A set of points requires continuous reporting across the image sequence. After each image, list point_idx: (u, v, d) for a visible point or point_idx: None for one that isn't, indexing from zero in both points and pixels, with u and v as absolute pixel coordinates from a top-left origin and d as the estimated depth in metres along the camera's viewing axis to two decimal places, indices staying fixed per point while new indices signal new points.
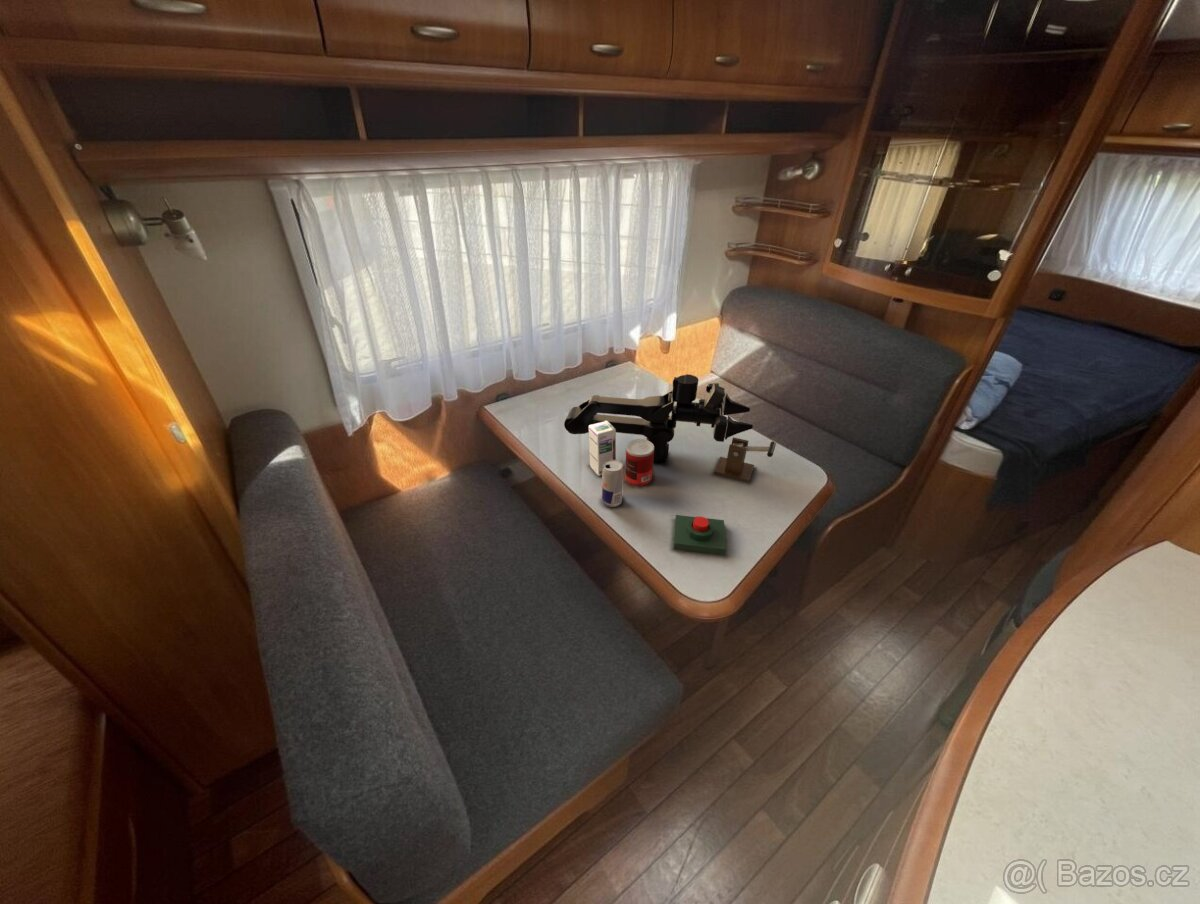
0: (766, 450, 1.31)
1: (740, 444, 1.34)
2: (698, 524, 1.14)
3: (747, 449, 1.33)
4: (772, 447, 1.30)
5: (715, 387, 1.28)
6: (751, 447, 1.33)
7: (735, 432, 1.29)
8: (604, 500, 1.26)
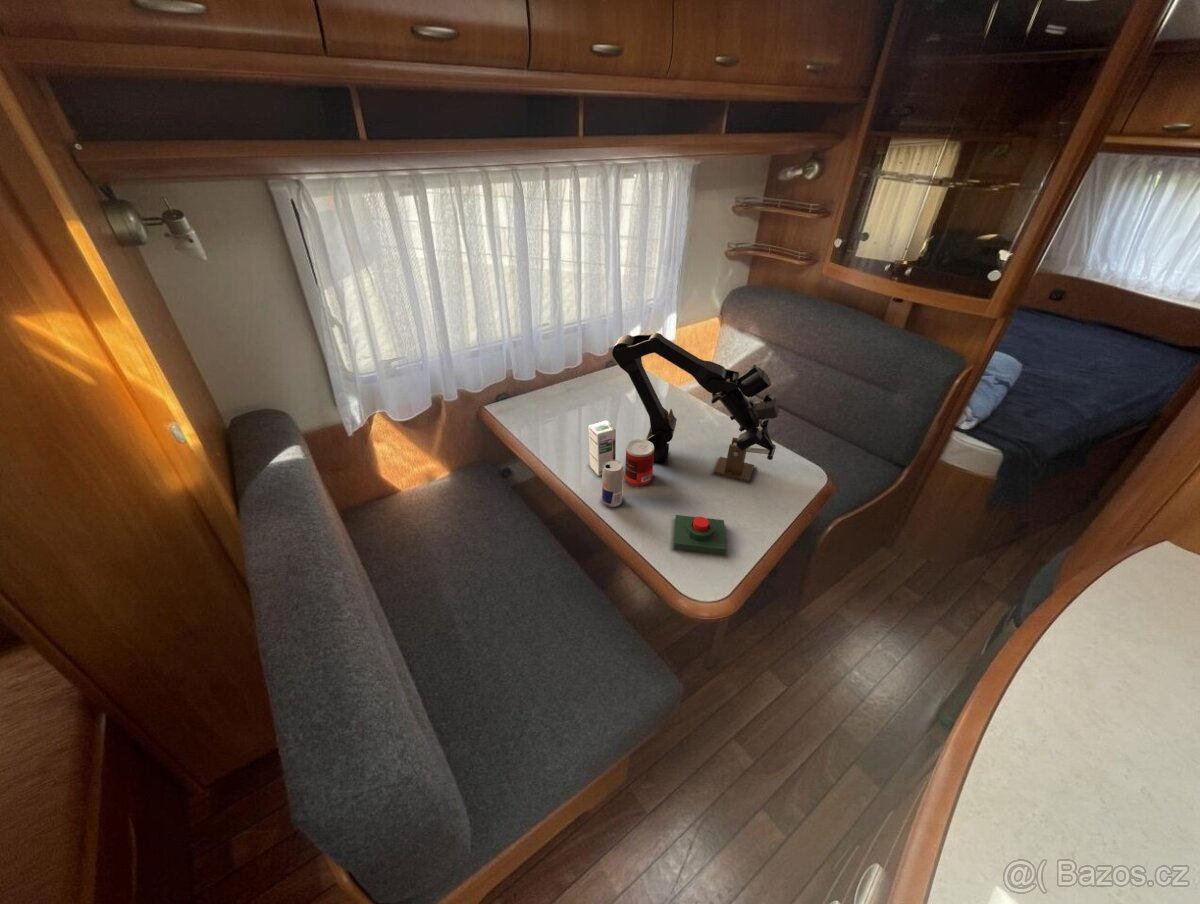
0: (766, 452, 1.31)
1: None
2: (698, 524, 1.14)
3: (747, 450, 1.33)
4: (772, 450, 1.30)
5: (775, 404, 1.23)
6: (751, 448, 1.33)
7: (757, 442, 1.29)
8: (604, 500, 1.26)
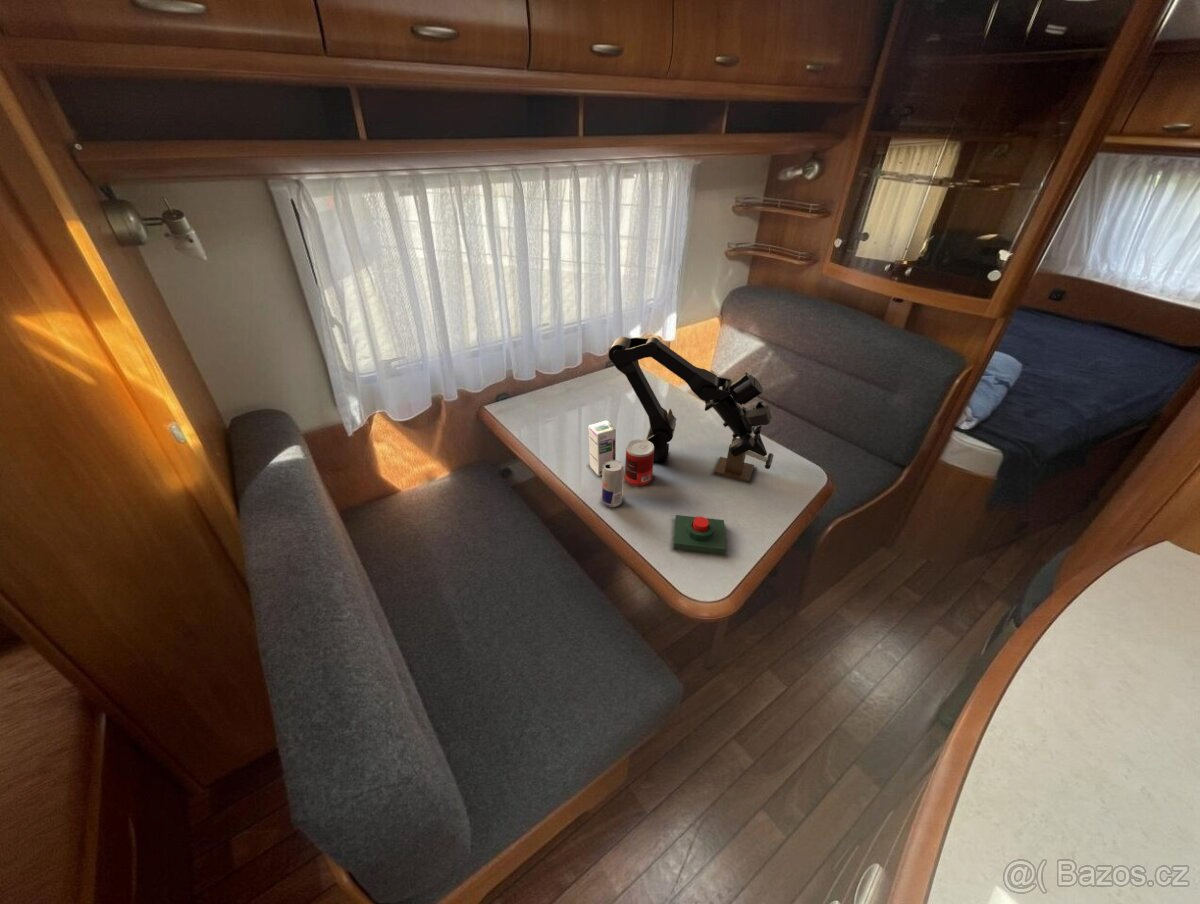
0: (764, 460, 1.33)
1: None
2: (698, 524, 1.14)
3: (747, 453, 1.34)
4: (771, 460, 1.32)
5: (767, 411, 1.25)
6: (751, 452, 1.34)
7: (750, 448, 1.31)
8: (604, 500, 1.26)
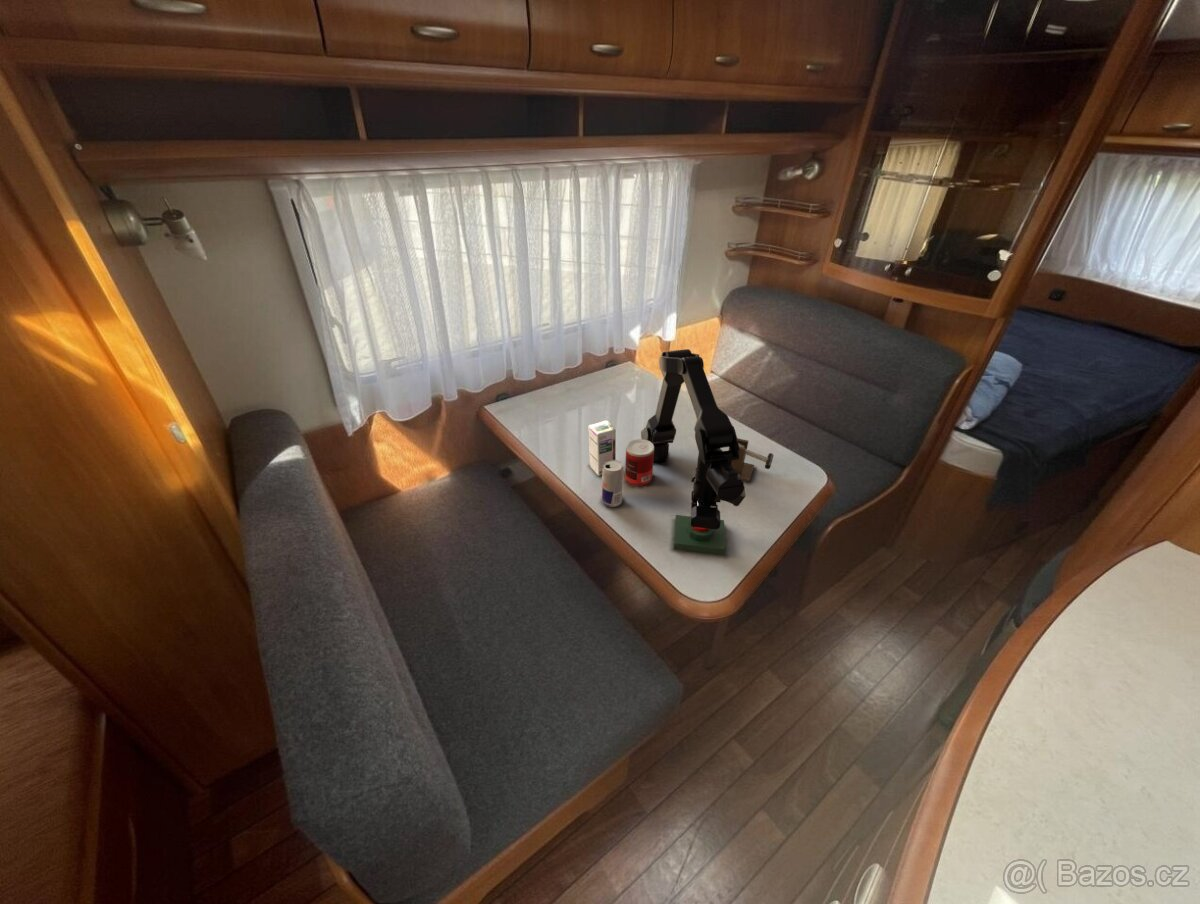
0: (764, 460, 1.33)
1: (742, 445, 1.34)
2: None
3: (747, 453, 1.34)
4: (771, 460, 1.32)
5: None
6: (751, 452, 1.34)
7: None
8: (604, 500, 1.26)
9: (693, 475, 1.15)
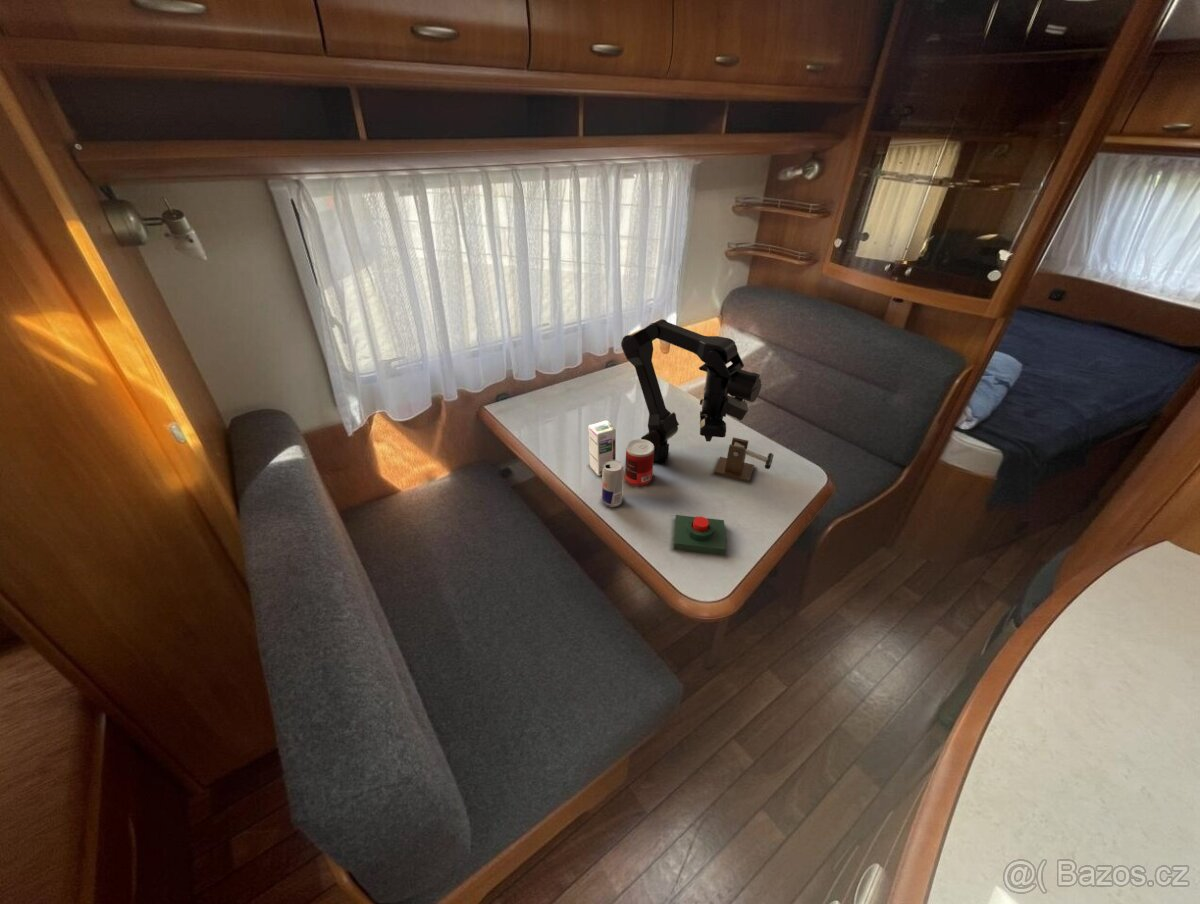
0: (764, 460, 1.33)
1: (742, 445, 1.34)
2: (698, 524, 1.14)
3: (747, 453, 1.34)
4: (771, 460, 1.32)
5: None
6: (751, 452, 1.34)
7: None
8: (604, 500, 1.26)
9: (701, 398, 1.29)
